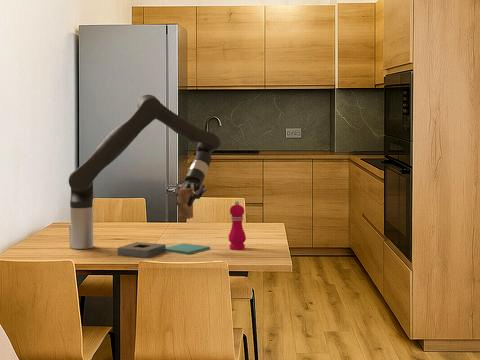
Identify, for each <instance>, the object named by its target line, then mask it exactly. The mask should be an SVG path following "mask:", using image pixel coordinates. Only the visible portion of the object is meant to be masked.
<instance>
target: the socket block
mask: <svg viewBox="0 0 480 360" xmlns="http://www.w3.org/2000/svg"><path fill="white" fill-rule="evenodd" d="M166 245H167V244H162V243H152V242H151V243H150V242H141V241H140V242H139V241H137V242H136V241H135V242H133V243H129V244H125V245H123V246H120V247H117V256H120V255H121V257H123V256H124V257H131V256H132V258H133V257H134V258H144V259H149V258H152V257H155V256H157V255H160V254H164V253H166V252H167V251H166V247H167V246H166Z"/></svg>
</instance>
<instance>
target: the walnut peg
mask: <svg viewBox="0 0 480 360" xmlns="http://www.w3.org/2000/svg"><path fill="white" fill-rule="evenodd" d="M182 188H183V187H182ZM191 193H192V189H187V188H183V189H178V205H177V206H178V208H177V209H178V210H177V212H178V214H177V215H178V219H181V220H191V219H192V218H194V203H193V204H192V206H191V207H189V206H188V205H187V203H188V201H189V198H190V197H191Z"/></svg>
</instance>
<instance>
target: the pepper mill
mask: <svg viewBox="0 0 480 360" xmlns="http://www.w3.org/2000/svg"><path fill="white" fill-rule="evenodd" d="M229 214H230V215H231V216H230V220H231V222H232V223H231V229H230V232H229V234H228V241H229V249H230V250H231V251H232V250H234V251H242V250H244V249H246V248H245V241H246V240H247V237H246V233H245V230H244V228H243V220H244V214H245V208H244V206H243V205H240V201H239V200H236V201H235V202H234V205H232V206H231V207H230V208H229Z"/></svg>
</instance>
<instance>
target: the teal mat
mask: <svg viewBox="0 0 480 360" xmlns="http://www.w3.org/2000/svg"><path fill="white" fill-rule="evenodd" d="M210 249H211V247H210V246H208V245H201V244H200V245H199V244H192V243H191V244H190V243H184V242H183V243H178V244H174V245H171V246H166V252H169V253H176V254H184V255H192V254H195V253H199V252H204V251H207V250H210Z"/></svg>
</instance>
